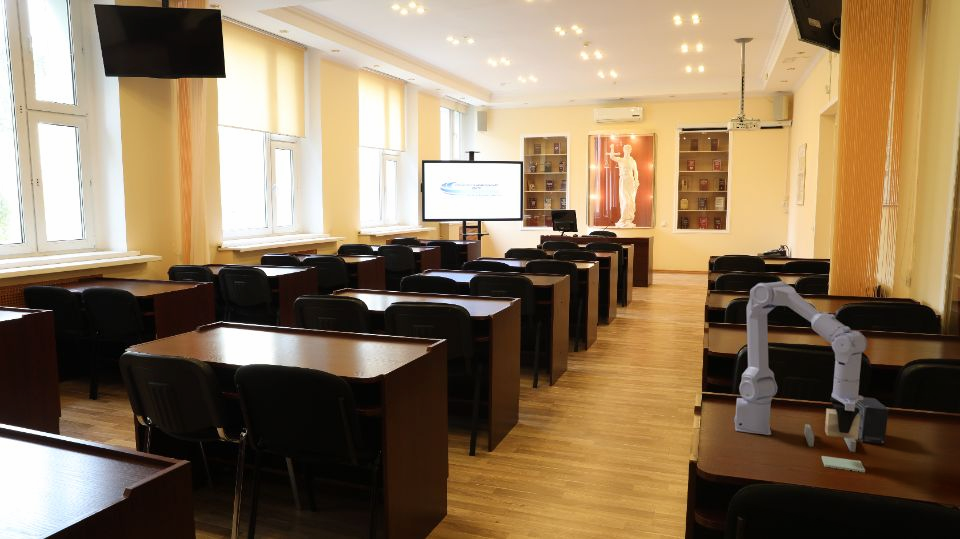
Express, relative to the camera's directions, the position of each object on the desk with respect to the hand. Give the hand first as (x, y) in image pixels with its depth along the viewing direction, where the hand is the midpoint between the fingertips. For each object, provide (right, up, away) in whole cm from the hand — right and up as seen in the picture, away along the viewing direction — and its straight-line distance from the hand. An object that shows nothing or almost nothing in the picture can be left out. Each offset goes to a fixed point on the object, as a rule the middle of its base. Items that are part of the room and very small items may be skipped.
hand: (842, 429), depth 172 cm
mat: (-1, -9, -2) cm, 9 cm away
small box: (+17, -7, +18) cm, 26 cm away
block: (0, -2, 0) cm, 2 cm away
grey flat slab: (+4, -7, +14) cm, 16 cm away
